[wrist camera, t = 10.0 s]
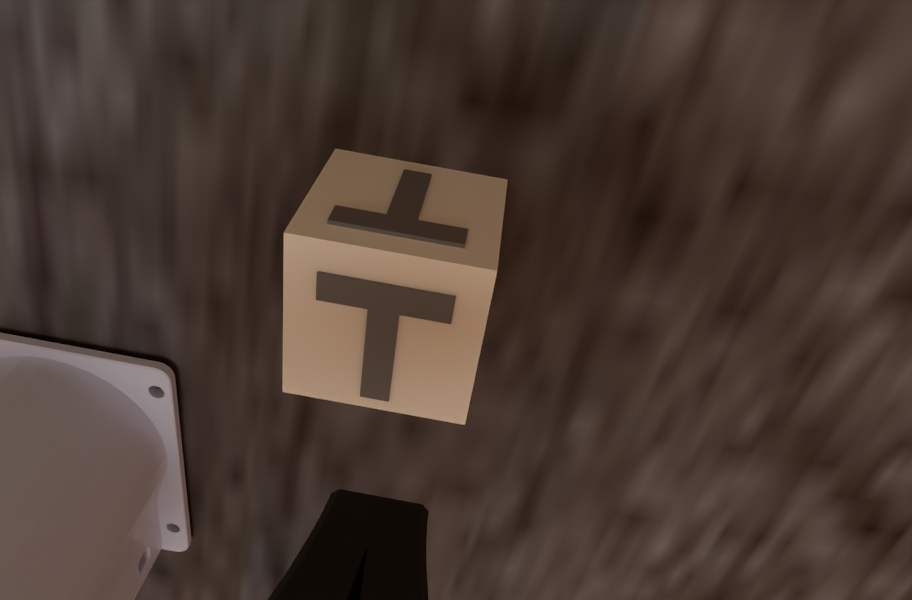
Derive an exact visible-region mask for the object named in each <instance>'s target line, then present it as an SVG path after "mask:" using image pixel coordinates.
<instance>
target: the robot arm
mask: <svg viewBox="0 0 912 600" xmlns="http://www.w3.org/2000/svg"><path fill="white" fill-rule="evenodd" d="M156 386H157V387H160V388H161V389H162V390H161V389H158V388H157V387H156ZM428 512H429V511H428V510H427V509H426V508H425V507H424V506H423V505H422V504H417V503H411V502H406V501H401V500H395V499H390V498H384V497H379V496H374V495H368V494H363V493H358V492H352V491H347V490H341V489H339V490H337V491H335V492H333V493H331V495H330V498H329V500H328V502H327V504H326V506H325V508H324V510H323V512H322V514H321V516H320V518H319V519H318V521H317V523H316V525H315V527H314V529H313V530H312V532H311V534H310V536H309V537H308V539H307V541H306V542H305V544H304V546H303V547H302V549H301V550H300V552H299V554H298V555H297V557H296V558H295V560H294V561H293V563H292V565H291V566H290V568H289V569H288V571H287V572H286V574H285V576H284V577H283V578H282V580H281V581H280V583H279V584H278V586H277V587H276V588H275V590H274V591H273V593H272V594H271V596H270V597H269V599H268V600H428V587H427V571H426V534H427V520H428ZM190 543H191V530H190V520H189V510H188V500H187V490H186V480H185V470H184V460H183V450H182V440H181V430H180V420H179V410H178V400H177V390H176V381H175V375H174V372H173V371H172V369H171V368H170V367H169V366H167V365H166V364H164V363H161V362H157V361H151V360H146V359H141V358H135V357H130V356H124V355H119V354H114V353H108V352H103V351H97V350H92V349H87V348H81V347H76V346H70V345H65V344H60V343H54V342H49V341H43V340H38V339H32V338H27V337H22V336H16V335H11V334H5V333H0V600H135V598H136V596H137V594H138V592H139V590H140V589H141V587H142V585H143V583H144V581H145V579H146V577H147V575H148V573H149V571H150V569H151V567H152V566H153V564H154V562H155V560H156V558H157V556H158V554H159V552H160V550H161V549H165V550H170V551H176V552H182V551H185V550H187V549H188V547H189V545H190Z"/></svg>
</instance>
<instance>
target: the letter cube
mask: <svg viewBox="0 0 912 600" xmlns="http://www.w3.org/2000/svg"><path fill="white" fill-rule="evenodd" d="M507 181H508V179H502V178H496V177H491V176H485V175H480V174H474V173H469V172H463V171H457V170H452V169H446V168H441V167H435V166H430V165H424V164H418V163H413V162H407V161H402V160H396V159H391V158H385V157H379V156H374V155H368V154H363V153H357V152H352V151H346V150H340V149H335V150H334V152H333V153H332V155H331V157H330V158H329V160H328V161H327V163H326V165H325V166H324V168H323V170H322V171H321V173H320V174H319V176H318V178H317V179H316V181H315V183H314V184H313V186H312V187H311V189H310V191H309V192H308V194H307V196H306V197H305V199H304V200H303V202H302V204H301V205H300V207H299V208H298V210H297V212H296V213H295V215H294V217H293V218H292V220H291V221H290V223H289V225H288V226H287V228H286V230H285V231H284V258H283V392H286V393H291V394H297V395H302V396H308V397H313V398H319V399H325V400H330V401H336V402H341V403H347V404H352V405H358V406H363V407H369V408H374V409H380V410H385V411H391V412H396V413H402V414H407V415H413V416H418V417H424V418H429V419H435V420H440V421H446V422H451V423H457V424H462V425H465V422H466V418H467V413H468V408H469V403H470V399H471V394H472V389H473V384H474V380H475V375H476V370H477V365H478V360H479V356H480V351H481V346H482V341H483V337H484V332H485V327H486V322H487V318H488V313H489V308H490V303H491V299H492V294H493V289H494V284H495V280H496V275H497V269H498V261H499V252H500V243H501V234H502V225H503V217H504V208H505V199H506V190H507Z"/></svg>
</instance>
